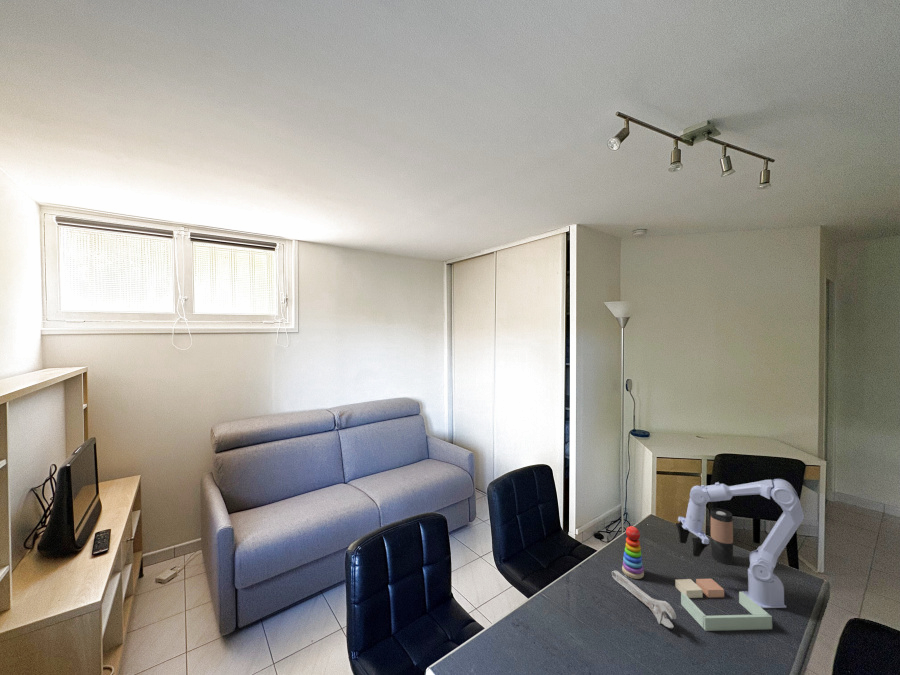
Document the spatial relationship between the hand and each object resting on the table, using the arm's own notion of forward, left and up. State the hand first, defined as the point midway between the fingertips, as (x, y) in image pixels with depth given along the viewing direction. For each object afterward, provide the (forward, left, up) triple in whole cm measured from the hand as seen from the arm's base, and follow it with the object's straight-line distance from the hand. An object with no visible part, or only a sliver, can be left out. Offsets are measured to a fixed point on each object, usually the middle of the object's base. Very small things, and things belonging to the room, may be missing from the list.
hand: (689, 549), depth 140 cm
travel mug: (-21, -10, -11) cm, 26 cm away
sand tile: (+7, +9, -11) cm, 16 cm away
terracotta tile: (-1, +9, -11) cm, 14 cm away
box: (+3, +20, -10) cm, 23 cm away
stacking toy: (+22, -2, -11) cm, 24 cm away
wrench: (+28, +14, -11) cm, 33 cm away
